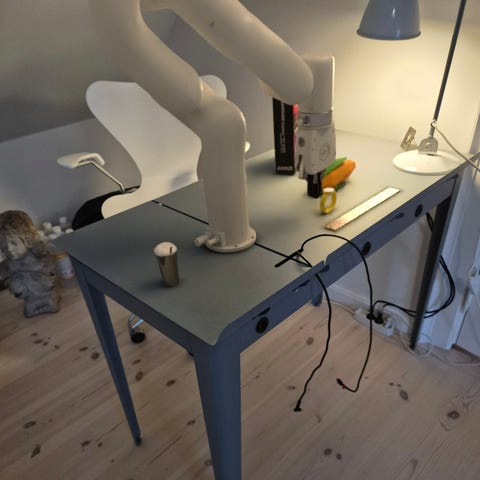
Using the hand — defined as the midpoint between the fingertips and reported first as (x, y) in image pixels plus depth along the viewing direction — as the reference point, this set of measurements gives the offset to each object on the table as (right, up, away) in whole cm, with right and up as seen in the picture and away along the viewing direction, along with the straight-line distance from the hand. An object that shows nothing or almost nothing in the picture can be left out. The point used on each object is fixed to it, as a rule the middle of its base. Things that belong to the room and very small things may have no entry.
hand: (314, 196), depth 111 cm
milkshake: (-33, -23, -14) cm, 42 cm away
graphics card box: (-2, +20, +36) cm, 41 cm away
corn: (+9, +9, +21) cm, 24 cm away
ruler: (+14, -1, +7) cm, 16 cm away
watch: (+5, -2, +8) cm, 9 cm away
